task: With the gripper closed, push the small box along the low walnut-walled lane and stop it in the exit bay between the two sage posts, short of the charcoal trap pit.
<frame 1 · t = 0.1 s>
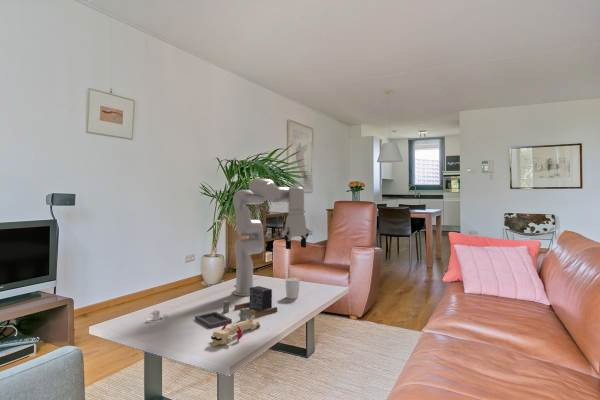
hand: (296, 248, 170), 31 cm above the table, tool pointing down, fingers open, 9 cm apart
trap pit: (213, 321, 157), on the table
lane: (255, 310, 172), on the table
white cup: (292, 297, 196), on the table
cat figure: (235, 337, 140), on the table
small box: (260, 309, 174), on the table
teacup and saucer: (161, 321, 158), on the table
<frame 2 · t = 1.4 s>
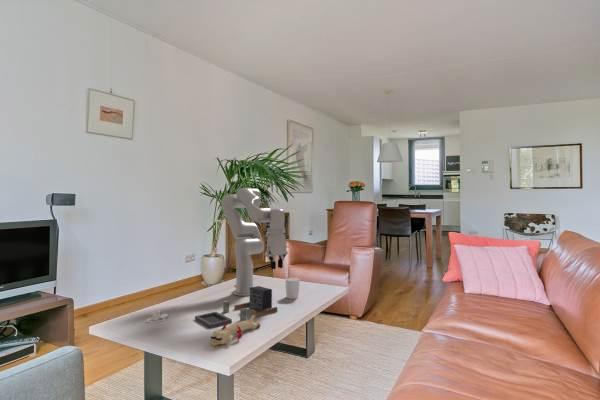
hand: (276, 267, 181), 19 cm above the table, tool pointing down, fingers open, 3 cm apart
nothing on the table moved.
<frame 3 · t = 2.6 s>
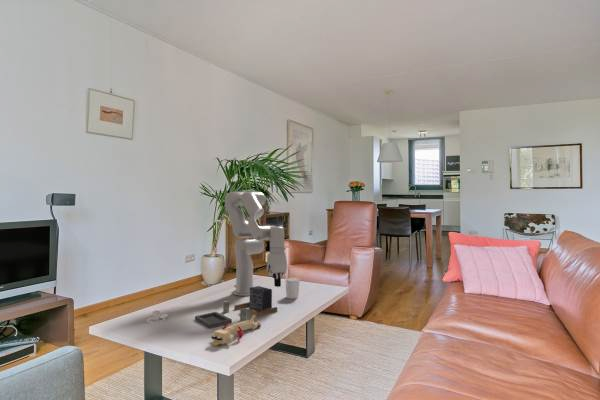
hand: (277, 286, 181), 10 cm above the table, tool pointing down, fingers closed
nothing on the table moved.
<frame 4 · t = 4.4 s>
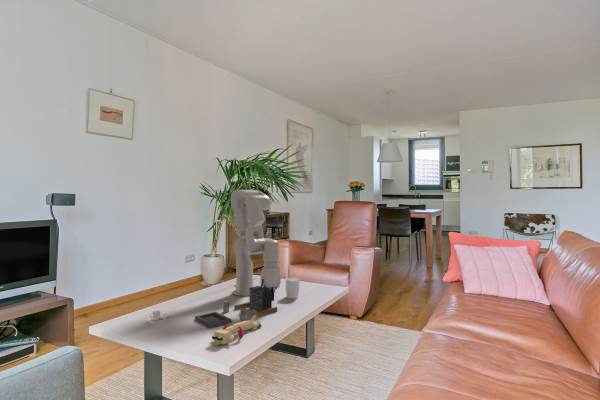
hand: (270, 300, 179), 3 cm above the table, tool pointing down, fingers closed
small box: (260, 309, 174), on the table, touching gripper
everything else where it was.
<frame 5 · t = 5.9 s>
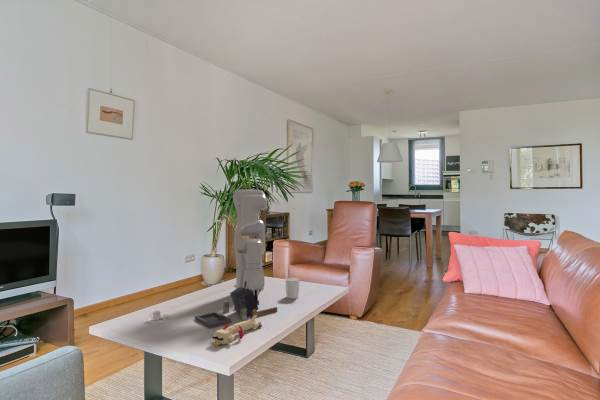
hand: (254, 303, 171), 4 cm above the table, tool pointing down, fingers closed
small box: (247, 310, 169), point 1 cm above the table, touching gripper
everything else where it was.
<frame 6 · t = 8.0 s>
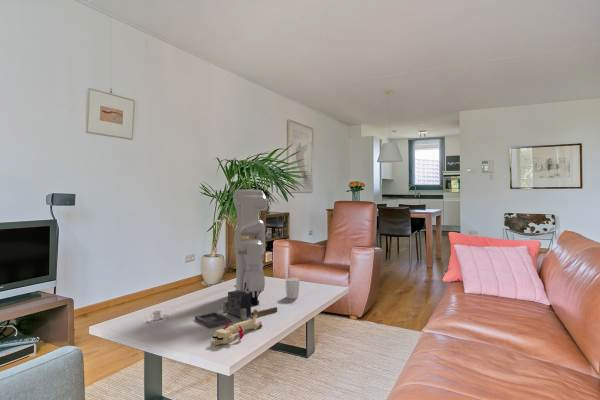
hand: (254, 304, 172), 3 cm above the table, tool pointing down, fingers closed
small box: (239, 315, 166), on the table
everything else where it was.
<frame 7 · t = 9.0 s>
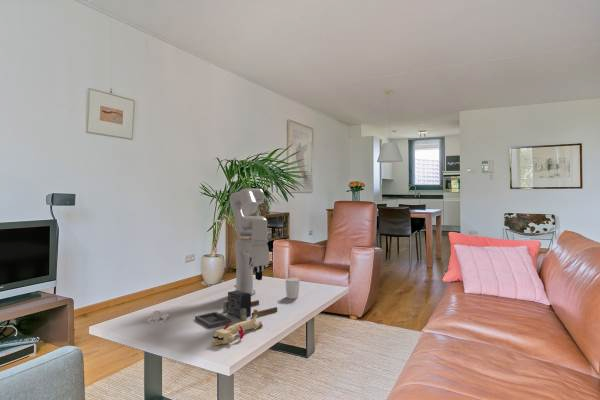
hand: (258, 279, 175), 15 cm above the table, tool pointing down, fingers closed
nothing on the table moved.
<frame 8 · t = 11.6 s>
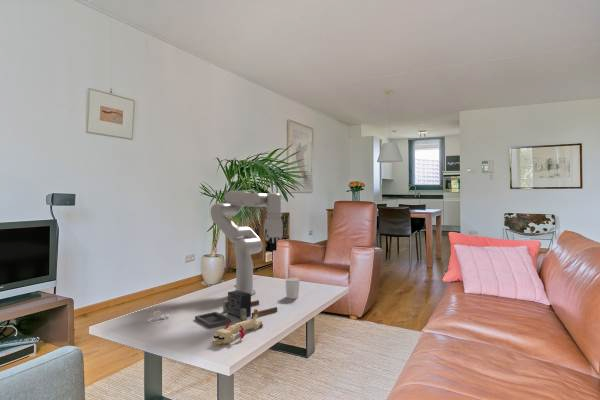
hand: (273, 250, 190), 27 cm above the table, tool pointing down, fingers closed
at the end: small box inside the target area (3.0 cm from its centre), on the table; small box touching table; small box tilted 0° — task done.
